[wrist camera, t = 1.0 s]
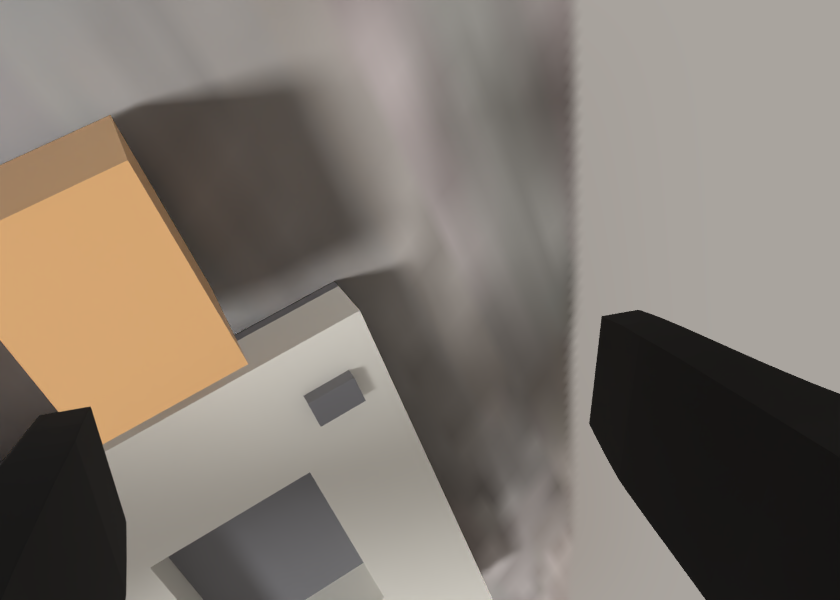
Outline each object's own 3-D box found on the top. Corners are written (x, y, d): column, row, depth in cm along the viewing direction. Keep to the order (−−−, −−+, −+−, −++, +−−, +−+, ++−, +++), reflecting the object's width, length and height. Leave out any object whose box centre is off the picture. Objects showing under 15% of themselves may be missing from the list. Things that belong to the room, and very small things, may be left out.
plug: (81, 341, 22) (90, 451, 17) (-40, 176, 19) (-71, 253, 14) (205, 276, 22) (248, 363, 18) (108, 109, 20) (127, 160, 15)
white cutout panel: (203, 745, 30) (216, 813, 28) (-54, 491, 22) (-66, 557, 19) (470, 569, 33) (503, 617, 30) (334, 281, 24) (365, 316, 22)
